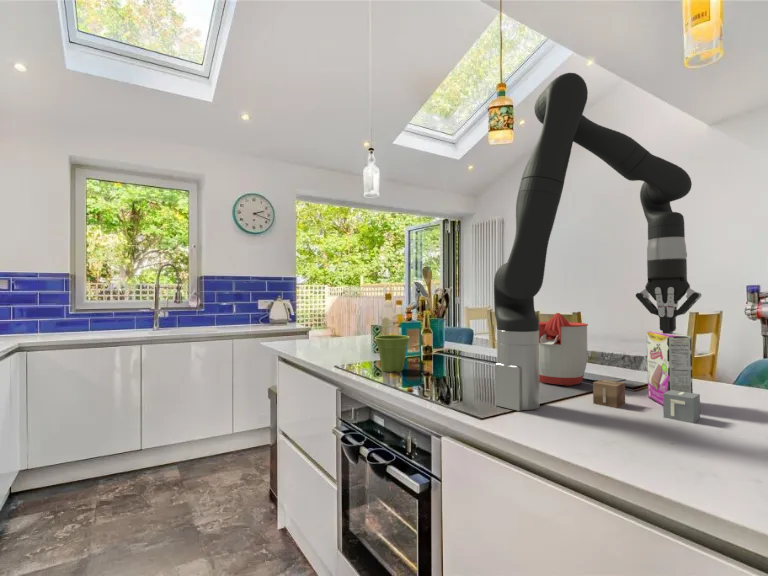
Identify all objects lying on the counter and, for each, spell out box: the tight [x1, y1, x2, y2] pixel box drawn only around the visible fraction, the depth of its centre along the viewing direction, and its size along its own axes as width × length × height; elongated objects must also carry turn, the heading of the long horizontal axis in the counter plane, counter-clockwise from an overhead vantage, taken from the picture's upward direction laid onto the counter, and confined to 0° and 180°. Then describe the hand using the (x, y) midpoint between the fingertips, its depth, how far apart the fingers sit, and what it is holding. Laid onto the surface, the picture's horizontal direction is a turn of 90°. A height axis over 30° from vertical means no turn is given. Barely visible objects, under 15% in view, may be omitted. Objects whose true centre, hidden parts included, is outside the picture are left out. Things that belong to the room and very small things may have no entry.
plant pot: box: [374, 334, 411, 373], centre depth 137 cm, size 12×12×11 cm
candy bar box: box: [646, 330, 694, 407], centre depth 94 cm, size 11×5×16 cm, turn 168°
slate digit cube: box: [662, 390, 701, 424], centre depth 84 cm, size 5×5×5 cm
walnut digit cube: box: [592, 378, 626, 409], centre depth 94 cm, size 5×5×5 cm
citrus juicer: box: [539, 312, 589, 387], centre depth 118 cm, size 16×17×20 cm
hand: (668, 333), depth 94 cm, fingers closed
